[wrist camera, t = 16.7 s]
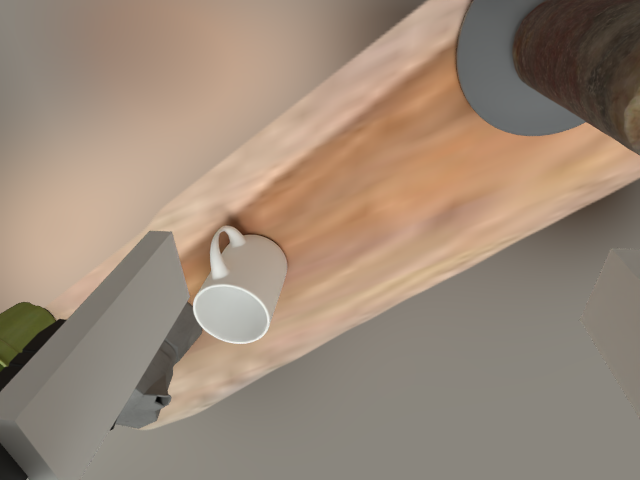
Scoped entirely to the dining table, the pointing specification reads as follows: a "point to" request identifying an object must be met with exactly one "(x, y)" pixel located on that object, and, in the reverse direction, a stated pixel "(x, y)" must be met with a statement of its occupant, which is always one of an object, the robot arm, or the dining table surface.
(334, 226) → the dining table surface
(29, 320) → the plant pot
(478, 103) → the plate
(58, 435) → the robot arm
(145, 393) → the coffeepot
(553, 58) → the dark brown rough cylinder
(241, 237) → the mug
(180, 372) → the dining table surface
